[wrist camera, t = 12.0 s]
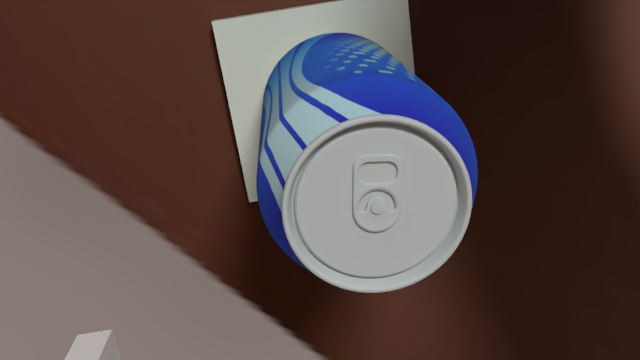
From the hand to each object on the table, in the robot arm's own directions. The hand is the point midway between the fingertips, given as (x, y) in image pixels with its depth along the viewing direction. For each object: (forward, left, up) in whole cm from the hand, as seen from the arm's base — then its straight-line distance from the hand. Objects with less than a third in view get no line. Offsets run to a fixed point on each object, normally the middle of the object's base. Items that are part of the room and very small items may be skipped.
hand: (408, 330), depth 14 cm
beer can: (0, 0, -23) cm, 23 cm away
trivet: (0, 0, -24) cm, 24 cm away
